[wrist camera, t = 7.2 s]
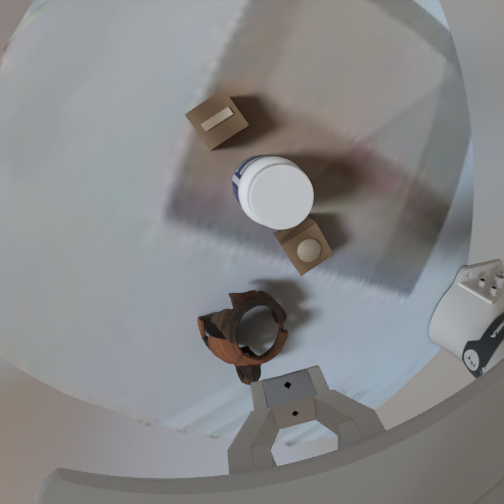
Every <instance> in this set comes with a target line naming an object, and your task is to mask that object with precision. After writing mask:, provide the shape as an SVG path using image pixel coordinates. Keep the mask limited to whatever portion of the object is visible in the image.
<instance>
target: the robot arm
mask: <svg viewBox="0 0 504 504" xmlns="http://www.w3.org/2000/svg"><path fill="white" fill-rule="evenodd" d="M503 271H504V268H503V262H502V261H501V260H500V259H497V260H492V261H488V262H484V263H478V264H474V265H469V266H464V267H462V268H461V269H460V271H459V272H458V274H457V276H456V278H455V281H454V283H453V284H452V286H451V287H450V288H449V290H448V291H447V292H446V293H445V295H444V296H443V298H442V299H441V301H440V302H439V304H438V306H437V308H436V310H435V312H434V314H433V316H432V319H431V322H430V326H429V338H430V340H431V342H432V343H433V344H435V345H438V346H440V347H441V348H443V349H445V350H446V351H448V352H449V353H451V354H452V355H454V356H455V357H456V358H458V359H459V360H460V361H462V362H463V363H464V364H465V366H466V367H467V368H468V370H469V371H470V373H471V374H472V375H473V376H474V377H475V378H476V379H475V380H474V381H473V382H471V383H470V384H468V385H467V386H465V387H464V388H462V389H461V390H459V391H458V392H456V393H455V394H453V395H452V396H450V397H449V398H447V399H445V400H444V401H442V402H440V403H439V404H437V405H435V406H434V407H432V408H430V409H428V410H426V411H425V412H423V413H421V414H419V415H417V416H415V417H413V418H411V419H410V420H408V421H406V422H404V423H401V424H399V425H397V426H395V427H393V428H391V429H389V430H387V431H386V430H385V428H384V426H383V425H382V423H381V421H380V419H379V417H378V415H377V414H376V412H375V410H373V409H371V408H369V407H367V406H365V405H363V404H361V403H359V402H357V401H355V400H353V399H351V398H349V397H347V396H345V395H343V394H341V393H339V392H337V391H335V390H330V389H329V387H328V385H327V383H326V381H325V378H324V376H323V374H322V372H321V370H320V367H319V366H318V365H316V366H313V367H309V368H307V369H302V370H299V371H296V372H292V373H289V374H285V375H282V376H278V377H273V378H269V379H264V380H260V381H256V382H251V384H250V386H251V392H252V399H253V405H254V411H251V413H250V414H249V416H248V418H247V419H246V421H245V423H244V424H243V426H242V428H241V429H240V431H239V433H238V434H237V436H236V437H235V439H234V441H233V443H232V444H231V445H230V447H229V449H228V464H229V475H220V476H209V477H197V478H170V479H169V478H134V477H120V476H110V475H102V474H94V473H88V472H82V471H76V470H71V469H66V468H57V469H55V470H54V471H52V472H51V473H50V474H49V475H48V476H46V477H45V478H44V479H43V480H42V481H41V482H40V484H39V486H38V488H37V492H36V496H35V501H34V504H504V275H503V273H504V272H503ZM316 419H317V421H318V422H320V423H321V424H323V425H324V426H325V427H327V428H328V429H330V430H331V431H332V432H334V433H335V434H337V435H338V450H335V451H332V452H329V453H326V454H323V455H319V456H317V457H312V458H309V459H305V460H301V461H298V462H294V463H290V464H285V465H281V466H277V465H276V462H275V460H274V458H273V455H272V453H271V448H272V446H273V443H274V441H275V439H276V436H277V434H278V431H279V429H283V428H286V427H290V426H293V425H297V424H301V423H305V422H309V421H312V420H316Z"/></svg>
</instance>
